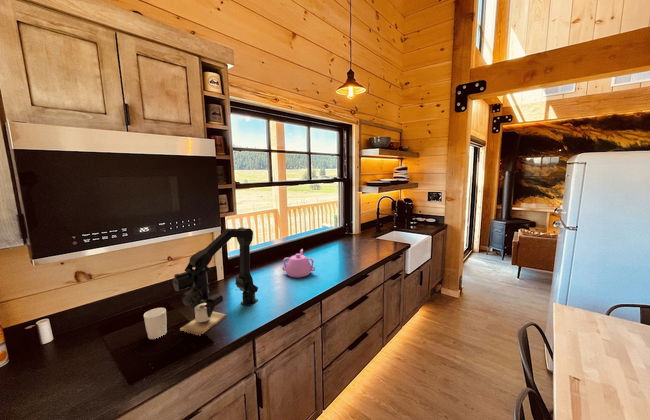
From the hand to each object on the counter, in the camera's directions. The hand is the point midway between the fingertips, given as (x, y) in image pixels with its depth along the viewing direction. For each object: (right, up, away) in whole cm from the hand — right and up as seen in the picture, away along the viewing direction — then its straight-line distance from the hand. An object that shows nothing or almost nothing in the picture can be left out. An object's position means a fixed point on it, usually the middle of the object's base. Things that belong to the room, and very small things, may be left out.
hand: (203, 315), depth 119 cm
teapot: (+37, +5, +58) cm, 70 cm away
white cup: (-16, -5, -7) cm, 19 cm away
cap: (0, -1, 0) cm, 1 cm away
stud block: (0, -4, +1) cm, 4 cm away
